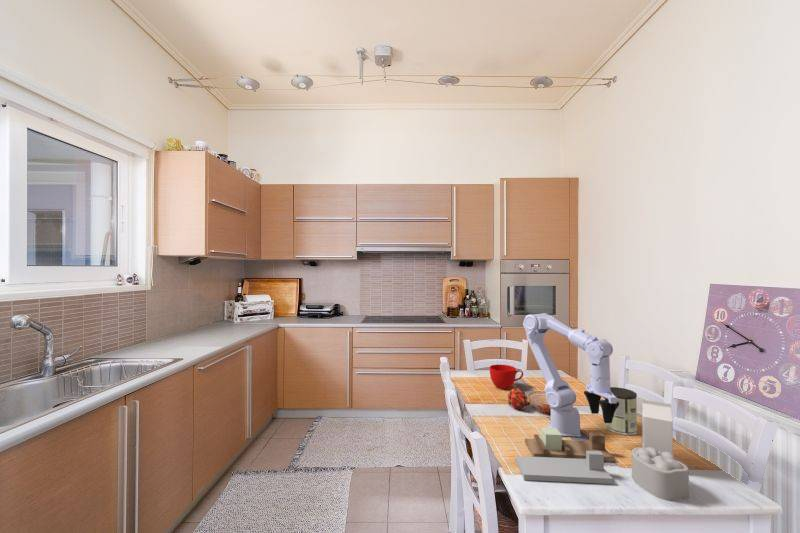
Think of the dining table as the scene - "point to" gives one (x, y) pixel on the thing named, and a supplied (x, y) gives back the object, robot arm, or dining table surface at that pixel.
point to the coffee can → (624, 412)
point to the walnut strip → (570, 447)
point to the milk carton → (657, 426)
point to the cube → (551, 438)
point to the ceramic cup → (503, 375)
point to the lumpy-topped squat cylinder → (660, 474)
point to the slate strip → (565, 469)
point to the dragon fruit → (517, 399)
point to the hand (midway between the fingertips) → (601, 417)
